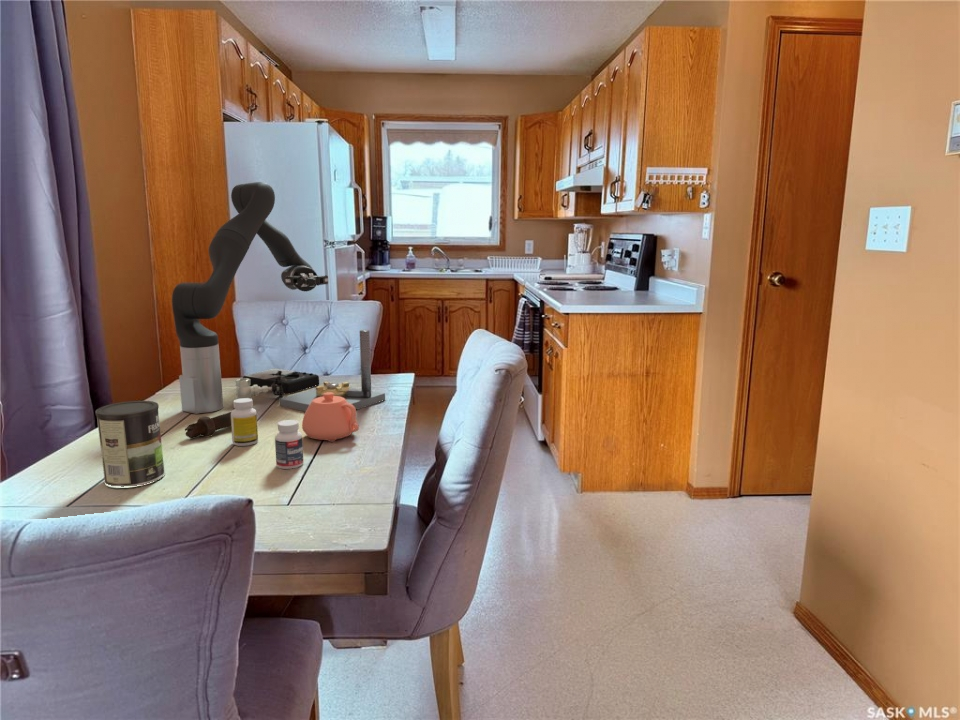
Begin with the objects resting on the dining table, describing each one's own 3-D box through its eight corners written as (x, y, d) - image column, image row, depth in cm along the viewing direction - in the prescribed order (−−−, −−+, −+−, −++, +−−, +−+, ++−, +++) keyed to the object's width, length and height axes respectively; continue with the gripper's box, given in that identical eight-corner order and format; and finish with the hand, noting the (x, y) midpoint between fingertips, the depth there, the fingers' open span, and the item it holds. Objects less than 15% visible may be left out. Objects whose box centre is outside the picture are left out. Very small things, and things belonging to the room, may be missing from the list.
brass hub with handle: (311, 398, 170) (307, 332, 167) (323, 390, 179) (320, 327, 176) (366, 400, 169) (364, 333, 165) (375, 392, 177) (374, 328, 174)
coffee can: (169, 466, 127) (162, 398, 124) (159, 486, 117) (152, 412, 115) (111, 471, 124) (103, 402, 121) (97, 492, 114) (87, 416, 112)
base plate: (333, 417, 161) (333, 408, 161) (279, 405, 172) (279, 397, 171) (385, 400, 178) (384, 392, 177) (333, 390, 188) (333, 383, 188)
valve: (238, 406, 171) (283, 401, 176) (236, 382, 170) (282, 378, 175) (235, 401, 177) (279, 396, 182) (233, 377, 175) (278, 373, 181)
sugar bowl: (326, 425, 155) (324, 384, 153) (374, 433, 149) (372, 391, 147) (291, 439, 144) (288, 396, 142) (340, 449, 138) (339, 403, 136)
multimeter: (288, 395, 184) (287, 378, 183) (242, 387, 193) (241, 371, 192) (320, 386, 195) (319, 370, 194) (275, 379, 204) (274, 364, 204)
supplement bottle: (262, 443, 141) (259, 400, 139) (238, 448, 138) (235, 404, 136) (252, 437, 145) (249, 395, 143) (228, 442, 142) (225, 399, 140)
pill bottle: (288, 471, 125) (286, 428, 123) (270, 466, 127) (268, 423, 126) (309, 463, 129) (307, 421, 127) (291, 458, 132) (289, 417, 130)
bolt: (188, 447, 144) (243, 428, 156) (198, 440, 141) (254, 421, 153) (177, 424, 144) (234, 407, 157) (188, 417, 141) (244, 400, 154)
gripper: (280, 266, 194) (286, 269, 179) (324, 265, 199) (333, 268, 183) (282, 290, 196) (287, 296, 180) (325, 289, 201) (334, 294, 185)
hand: (311, 282), depth 182 cm, fingers closed
